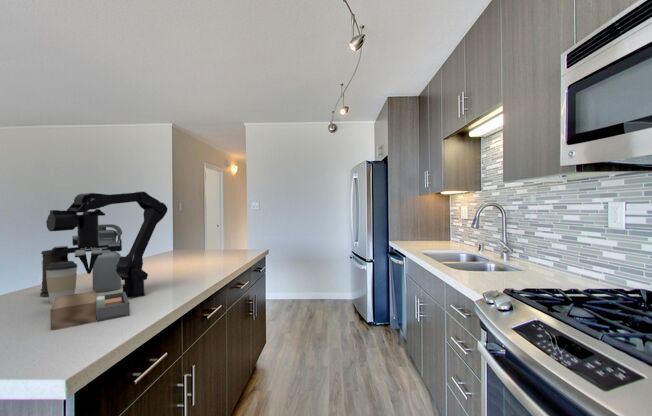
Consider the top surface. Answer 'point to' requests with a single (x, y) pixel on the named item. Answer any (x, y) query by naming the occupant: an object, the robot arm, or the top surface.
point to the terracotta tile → (113, 301)
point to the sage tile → (100, 301)
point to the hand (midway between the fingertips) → (89, 273)
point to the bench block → (73, 310)
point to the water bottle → (107, 261)
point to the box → (114, 308)
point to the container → (46, 261)
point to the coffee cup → (61, 279)
